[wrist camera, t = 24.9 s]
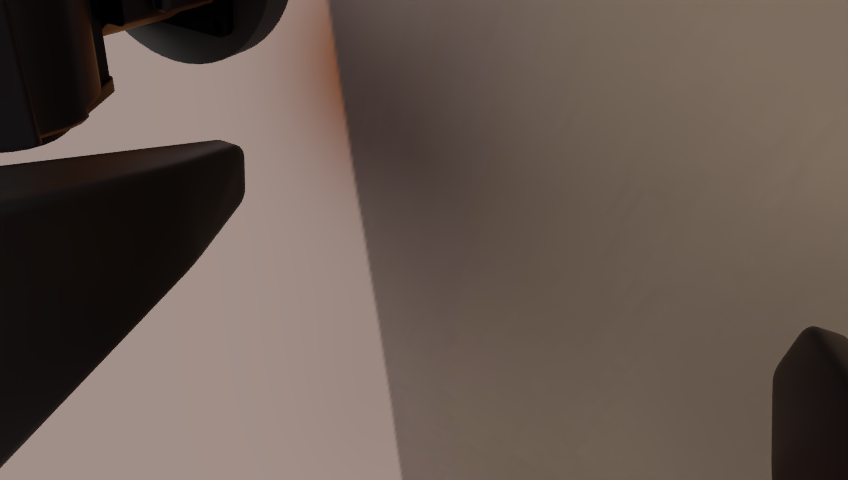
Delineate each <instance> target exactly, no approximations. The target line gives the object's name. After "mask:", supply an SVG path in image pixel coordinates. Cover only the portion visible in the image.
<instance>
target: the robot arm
mask: <svg viewBox="0 0 848 480" xmlns="http://www.w3.org/2000/svg"><path fill="white" fill-rule="evenodd" d="M219 20H220V21H221V23H222V24H223V29H221V27H220V26H219V23H218V22H219ZM157 21H161V22H165V23H168V24H172V25H176V26H179V27H183V28H187V29H190V30H194V31H198V32H201V33H205V34H209V35H212V36H216V37H225V36H228V35H230V34H231V33H232V31H233V0H0V153H4V152H14V151H21V150H26V149H31V148H35V147H38V146H42V145H45V144H47V143H50V142H52V141H55V140H56V139H58V138H59V137H61V136H63V135H64V134H65V133H66V132H68V131H69V130H70V129H71V128H73V127H76V126H77V125H80V124H82V123H83V122H84V121H85V120H86V119H87V118H88V117H89V113H90V112H91V111H92V110H93V109H94V108H96V107H97V106H98V105H99V104H100V103H102V101H104V100H105V99H106V98H107V97H109V96H110V95H111V94H112V93H113V92H114V91H115V90H114V84H113V78H112V76H109V71H108V65H107V58H106V52H105V46H104V39H103V36H105V35H109V34H113V33H117V32H120V31H124V30H128V29H131V28H135V27H139V26H143V25H146V24H150V23H154V22H157ZM244 193H245V170H244V154H243V151H242V149H241V148H240V147H239V146H237V145H234V144H231V143H228V142H225V141H221V140H213V141H204V142H196V143H188V144H179V145H172V146H163V147H155V148H146V149H138V150H129V151H121V152H114V153H105V154H96V155H88V156H79V157H71V158H63V159H54V160H46V161H38V162H30V163H21V164H13V165H4V166H0V468H1V467H2V466H3V464H4V463H6V461H7V460H8V459H9V458H10V457H11V456H12V455H13V454H14V453H15V452H16V451H17V450H18V449H19V448H20V447H21V446H22V445H23V444H24V443H25V442H26V441H27V439H28V438H29V437H30V436H31V435H32V434H33V433H34V432H35V431H36V430H37V429H38V428H39V427H40V426H41V425H42V424H43V423H44V422H45V421H46V419H47V418H48V417H49V416H50V415H51V414H52V413H53V412H54V411H55V410H56V409H57V408H58V407H59V406H60V405H61V404H62V403H63V402H64V401H65V400H66V399H67V397H68V396H69V395H70V394H71V393H72V392H73V391H74V390H75V389H76V388H77V387H78V386H79V385H80V384H81V383H82V382H83V381H84V380H85V379H86V378H87V376H88V375H89V374H90V373H91V372H92V371H93V370H94V369H95V368H96V367H97V366H98V365H99V364H100V363H101V362H102V361H103V360H104V359H105V358H106V356H108V354H109V353H110V352H111V351H112V350H113V349H114V348H115V347H116V346H117V345H118V344H119V343H120V342H121V341H122V340H123V339H124V338H125V337H126V336H127V335H128V333H129V332H130V331H131V330H132V329H133V328H134V327H135V326H136V325H137V324H138V323H139V322H140V321H141V320H142V319H143V317H145V316H146V315H147V314H148V312H149V311H150V310H151V309H152V308H153V307H154V306H155V305H156V304H157V303H158V302H159V301H160V300H161V299H162V298H163V297H164V296H165V295H166V294H167V292H168V291H169V290H170V289H171V288H172V287H173V286H174V285H175V284H176V283H177V282H178V281H179V280H180V279H181V278H182V277H183V276H184V275H185V274H186V272H187V271H188V270H189V269H190V268H191V267H192V266H193V265H194V263H195V262H196V261H197V260H198V258H199V257H200V256H201V255H202V253H203V252H204V251H205V250H206V248H207V247H208V246H209V244H210V243H211V242H212V240H213V239H214V238H215V236H216V235H217V234H218V233H219V231H220V230H221V229H222V227H223V226H224V225H225V223H226V222H227V221H228V219H229V218H230V217H231V215H232V214H233V213H234V211H235V210H236V209H237V207H238V206H239V205H240V203H241V202H242V199H243V197H244ZM772 480H848V339H847V338H846V337H844V336H843V335H840V334H838V333H835V332H832V331H828V330H825V329H822V328H819V327H814V326H812V327H808V328H806V329H805V330H803V331H802V332H801V334H800V335H799V336H798V338H797V339H796V341H795V342H794V343H793V345H792V346H791V348H790V349H789V350H788V352H787V353H786V355H785V356H784V357H783V359H782V360H781V362H780V363H779V364H778V366H777V368H776V370H775V373H774V377H773V394H772Z"/></svg>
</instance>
